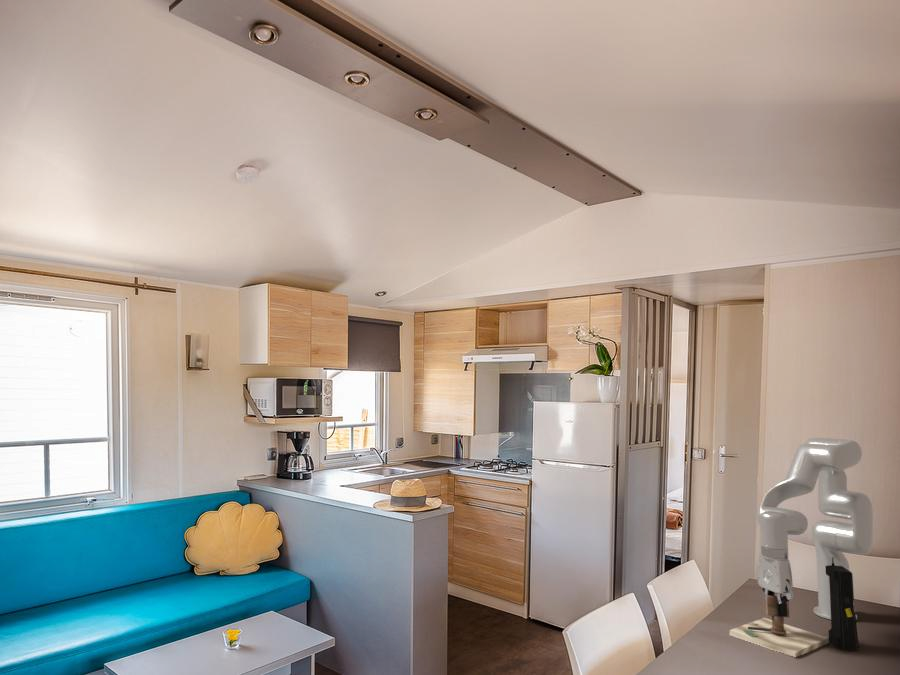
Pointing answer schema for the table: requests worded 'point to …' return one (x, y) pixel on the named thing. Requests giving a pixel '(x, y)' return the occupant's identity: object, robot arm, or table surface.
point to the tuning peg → (774, 616)
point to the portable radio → (842, 608)
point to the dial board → (780, 638)
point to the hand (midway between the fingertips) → (776, 613)
